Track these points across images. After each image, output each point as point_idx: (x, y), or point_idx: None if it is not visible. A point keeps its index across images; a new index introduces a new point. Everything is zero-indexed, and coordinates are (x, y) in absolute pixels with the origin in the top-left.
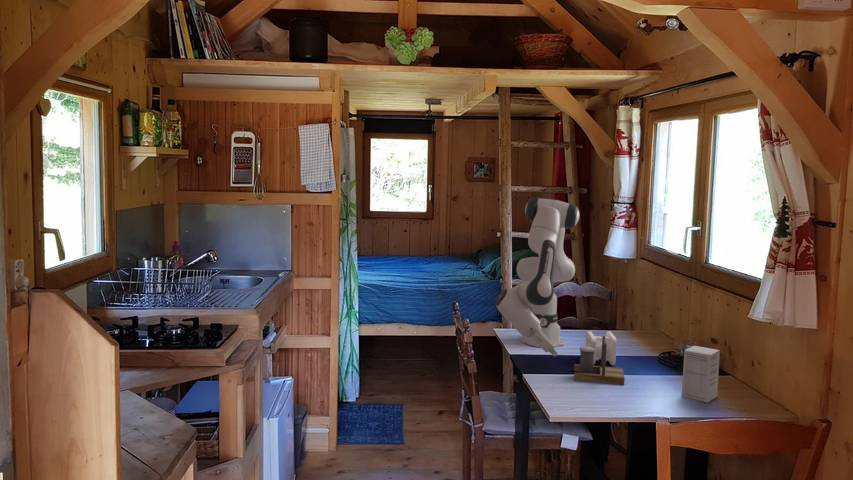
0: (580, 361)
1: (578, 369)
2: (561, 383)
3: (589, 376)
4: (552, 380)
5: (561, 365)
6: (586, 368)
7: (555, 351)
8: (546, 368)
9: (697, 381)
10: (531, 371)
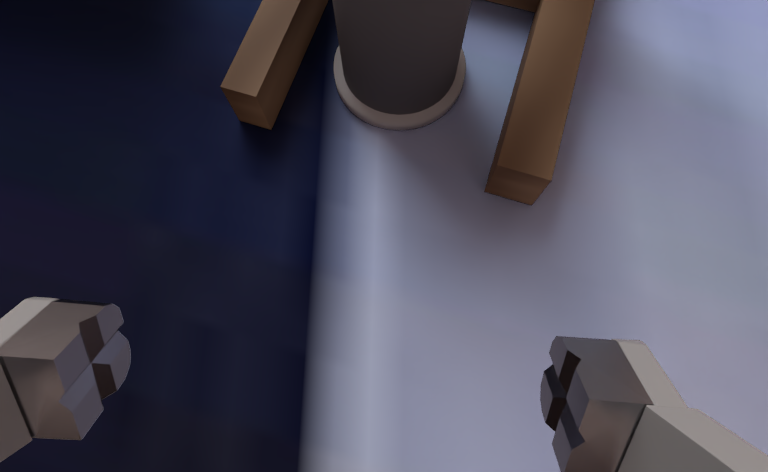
0: (407, 30)
1: (280, 87)
2: None
3: (575, 65)
4: None
5: (76, 186)
6: (464, 30)
7: (671, 391)
8: (142, 364)
9: None
10: None
